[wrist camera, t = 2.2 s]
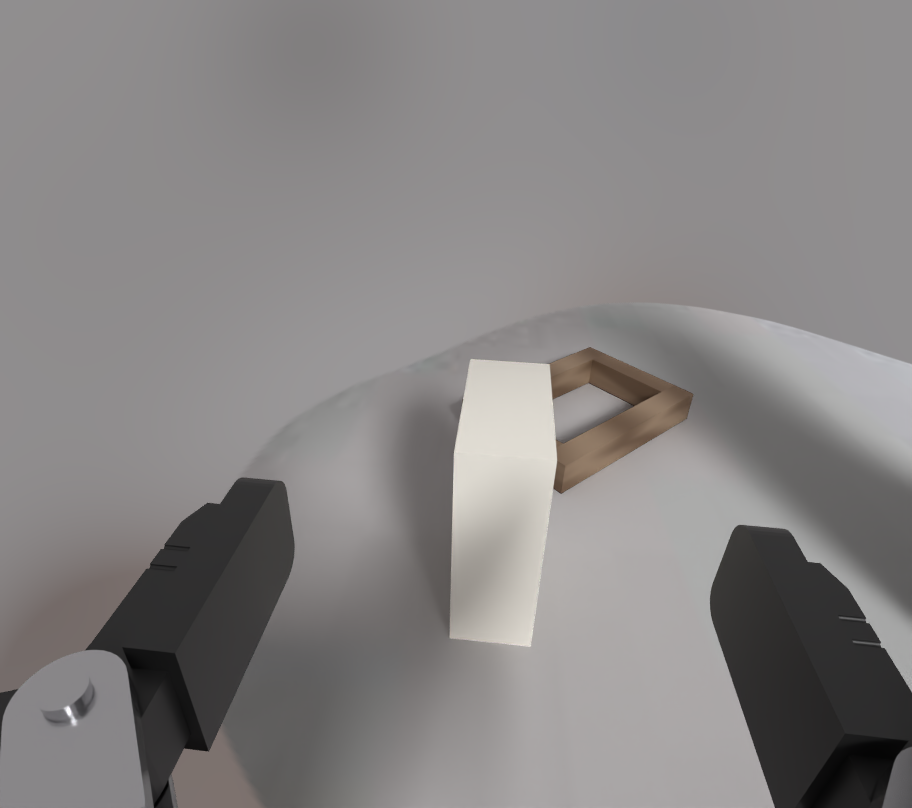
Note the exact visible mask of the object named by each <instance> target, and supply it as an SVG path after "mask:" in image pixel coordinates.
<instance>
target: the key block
mask: <svg viewBox="0 0 912 808" xmlns="http://www.w3.org/2000/svg"><path fill="white" fill-rule="evenodd" d="M556 465H557V451H556V438H555V426H554V413H553V400H552V388H551V375H550V364H539V363H524V362H509V361H493V360H478V359H470V364H469V370H468V376H467V381H466V387H465V393H464V398H463V404H462V410H461V415H460V421H459V427H458V433H457V438H456V444H455V450H454V474H453V515H452V555H451V596H450V637H449V638H451V639H461V640H471V641H481V642H490V643H500V644H510V645H520V646H529V647H531V640H532V633H533V626H534V619H535V612H536V605H537V598H538V591H539V584H540V577H541V570H542V563H543V556H544V549H545V542H546V535H547V528H548V521H549V514H550V507H551V500H552V493H553V486H554V479H555V472H556Z"/></svg>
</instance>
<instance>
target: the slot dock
mask: <svg viewBox="0 0 912 808" xmlns="http://www.w3.org/2000/svg"><path fill="white" fill-rule="evenodd" d="M550 375H551V388H552V399H554V398H556V397H559V396H561V395H563V394H565V393H567V392H570V391H572V390H574V389H576V388H578V387H580V386H583V385H585V384H587V383H591V384H593V385H595V386H597V387H599V388H601V389H603V390H605V391H606V392H608V393H610V394H612V395H614V396H616V397H618V398H620V399H622V400H624V401H626V402H628V403H630V404H632V405H634V407H632V408H630V409H628V410H626V411H624V412H623V413H621V414H619V415H617V416H615V417H613V418H611V419H609V420H607V421H606V422H604V423H602V424H600V425H598V426H596V427H594V428H592V429H590V430H589V431H587V432H585V433H583V434H581V435H579V436H577V437H575V438H573V439H572V440H570V441H568V442H566V443H564V444H563V443H561V442H559V441H558V440H556V451H557V465H556V472H555V479H554V486H553V488H554V489H555V490H557V491H558V492H560V493H563V492H565V491H566V490H568V489H570V488H571V487H573V486H575V485H576V484H578V483H580V482H581V481H583V480H585V479H586V478H588V477H590V476H591V475H593V474H595V473H596V472H598V471H600V470H601V469H603V468H605V467H606V466H608V465H610V464H611V463H613V462H615V461H616V460H618V459H620V458H621V457H623V456H625V455H626V454H628V453H630V452H631V451H633V450H635V449H637V448H638V447H640V446H642V445H643V444H645V443H647V442H648V441H650V440H652V439H653V438H655V437H657V436H658V435H660V434H662V433H663V432H665V431H667V430H668V429H670V428H672V427H673V426H675V425H677V424H678V423H680V422H682V421H683V420H685V419H687V415H688V412H689V408H690V405H691V401H692V397H693V394H692V393H690V392H688V391H686V390H684V389H681V388H679V387H677V386H675V385H672V384H670V383H668V382H666V381H664V380H661V379H659V378H657V377H655V376H653V375H650V374H648V373H646V372H644V371H642V370H639V369H637V368H635V367H633V366H631V365H628V364H626V363H624V362H622V361H619V360H617V359H615V358H613V357H611V356H608V355H606V354H604V353H602V352H600V351H597V350H595V349H593V348H591V347H589V348H587V349H584V350H582V351H579V352H577V353H574V354H572V355H569V356H567V357H565V358H562V359H560V360H557V361H555V362H552V363H550ZM462 404H463V399H462Z"/></svg>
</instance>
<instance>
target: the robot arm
mask: <svg viewBox="0 0 912 808" xmlns="http://www.w3.org/2000/svg"><path fill="white" fill-rule="evenodd" d="M293 559H294V537H293V530H292V524H291V517H290V510H289V504H288V497H287V491H286V487H285V484H284V483H283V482H282V481H275V480H264V479H253V478H240V479H238V480H237V481H236V482H235V483H234V485H233V486H232V487H231V489H230V490H229V492H228V493H227V495H226V496H225V498H224V499H223V501H222V502H221V504H213V503H207V504H206V505H204V506H203V507H201V508H200V509H198V510H197V511H196V512H194V513H193V514H191V515H190V516H189V517H188V518H186V519H185V520H183V521H182V522H181V523H180V525H179V526H178V527H177V529H176V530H175V531H174V533H173V534H172V535H171V537H170V538H169V539H168V541H167V542H166V543H165V547H164V549H161V550H160V551H159V553H158V554H157V555H156V557H155V558H154V559H153V561H152V562H151V563H150V568H149V569H146V570H145V572H144V573H143V574H142V576H141V577H140V578H139V580H138V581H137V582H136V584H135V585H134V586H133V588H132V589H131V591H130V592H129V593H128V595H127V596H126V597H125V599H124V600H123V601H122V603H121V604H120V605H119V606H118V608H117V609H116V611H115V612H114V613H113V615H112V616H111V617H110V619H109V620H108V621H107V623H106V624H105V625H104V627H103V628H102V629H101V631H100V632H99V633H98V635H97V636H96V637H95V639H94V640H93V641H92V643H91V644H90V645H89V646H88V648H87V649H86V650H85V651H81V652H76V653H73V654H70V655H67V656H64V657H62V658H60V659H57V660H55V661H54V662H52V663H50V664H48V665H46V666H45V667H43V668H42V669H40V670H39V671H38V672H36V673H35V674H34V675H32V676H31V677H30V678H29V679H28V680H27V681H26V682H25V683H24V684H23V685H22V686H21V687H20V688H19V689H17V690H12V691H8V692H3V693H0V808H178V806H177V800H176V795H175V789H174V783H173V779H172V775H171V773H172V771H173V769H174V767H175V765H176V763H177V761H178V759H179V757H180V755H181V753H182V751H183V749H184V748H185V749H193V750H201V751H209V750H210V748H211V746H212V743H213V741H214V739H215V737H216V735H217V732H218V730H219V728H220V726H221V724H222V722H223V719H224V717H225V715H226V713H227V711H228V708H229V706H230V704H231V702H232V700H233V697H234V695H235V693H236V691H237V689H238V686H239V684H240V682H241V680H242V678H243V676H244V673H245V671H246V669H247V667H248V665H249V662H250V660H251V658H252V656H253V654H254V651H255V649H256V647H257V645H258V643H259V641H260V638H261V636H262V634H263V632H264V630H265V627H266V625H267V623H268V621H269V619H270V616H271V614H272V612H273V610H274V608H275V606H276V603H277V601H278V599H279V597H280V595H281V592H282V590H283V588H284V586H285V584H286V581H287V579H288V577H289V574H290V572H291V568H292V564H293ZM710 610H711V617H712V621H713V624H714V627H715V630H716V633H717V636H718V639H719V642H720V645H721V648H722V651H723V654H724V657H725V660H726V663H727V666H728V669H729V672H730V675H731V678H732V681H733V684H734V687H735V690H736V693H737V696H738V699H739V702H740V705H741V708H742V711H743V714H744V717H745V720H746V723H747V726H748V728H749V731H750V734H751V737H752V740H753V743H754V746H755V749H756V752H757V755H758V758H759V761H760V764H761V767H762V770H763V773H764V776H765V779H766V782H767V785H768V788H769V791H770V794H771V797H772V800H773V803H774V806H775V808H912V692H911V690H910V689H909V687H908V685H907V684H906V682H905V681H904V679H903V677H902V676H901V674H900V672H899V671H898V669H897V668H896V666H895V664H894V663H893V661H892V659H891V658H890V656H889V655H888V653H887V651H886V650H885V648H881V646H880V643H881V642H880V640H879V638H878V637H877V635H876V633H875V632H874V630H873V629H872V627H871V625H870V624H869V623H866V621H865V619H866V617H865V615H864V614H863V612H862V611H861V609H860V607H859V606H858V604H857V602H856V601H855V599H854V598H853V596H852V594H851V593H850V591H849V589H848V588H847V587H846V586H844V585H843V584H842V583H841V582H840V581H839V580H838V579H837V578H836V577H835V576H834V575H832V574H831V573H830V572H829V571H828V570H827V569H826V568H825V567H824V566H823V565H822V564H820V563H812V562H807V560H806V558H805V556H804V555H803V553H802V551H801V549H800V548H799V546H798V544H797V542H796V540H795V539H794V537H793V536H792V534H791V533H790V532H789V531H788V530H786V529H779V528H769V527H758V526H747V525H738V526H737V527H736V528H735V529H734V530H733V532H732V534H731V537H730V539H729V542H728V545H727V547H726V550H725V553H724V555H723V558H722V561H721V563H720V566H719V569H718V571H717V574H716V577H715V579H714V582H713V585H712V588H711V595H710Z"/></svg>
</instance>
